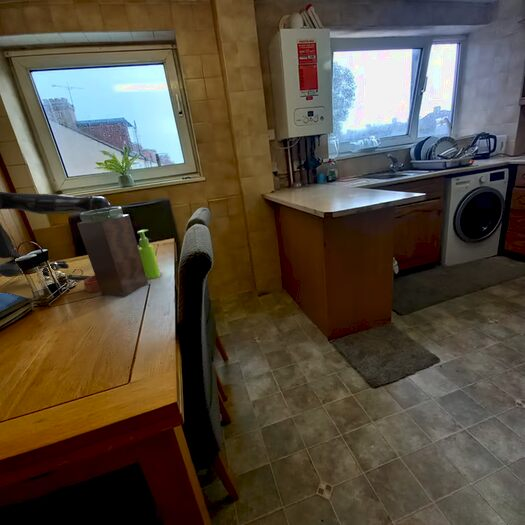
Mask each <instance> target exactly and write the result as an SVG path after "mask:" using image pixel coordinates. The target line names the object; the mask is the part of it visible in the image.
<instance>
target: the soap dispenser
mask: <svg viewBox="0 0 525 525" xmlns="http://www.w3.org/2000/svg"><path fill="white" fill-rule="evenodd" d="M147 231H148V232H149V229H147V228H146V229H140V230H138V231H137V234H138V235H139V236H140V238H139V239H138V242H139V243H140V245H141V247H140V245H139V246H138V249H139V252H140V256H141V260H142V263H143V267H144V270H145V274H146V278H147V280H151V279H156V278H158V277H160V276H161V272H160V267H159V263H158V260H157V256H156V252H155V247H154V245H152V244H150V242H149V241H150V240H148V239H149V238H148V237H146V235H145V232H147Z"/></svg>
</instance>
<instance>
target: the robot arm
mask: <svg viewBox="0 0 525 525" xmlns="http://www.w3.org/2000/svg"><path fill="white" fill-rule="evenodd" d="M110 207H112V206H111V203H110V201H109V200H108V199H107V198H106V197H104V196H99V195H97V196H72V195H71V196H70V195H64V194H63V195H62V194H54V193H53V194H52V193H31V192H30V193H28V192H27V193H26V192H23V193H21V192H18V193H17V192H5V191H0V210H20V211H25V212H28V213H32V214H36V215H37V214H38V215H64V214H74V213H83V212H87V211H91V210H95V211H96V209H103V208H110ZM110 210H111V209H110ZM148 241H153V239H151V238H148ZM138 246H139V247H141V245H140V242H139V243H138ZM19 257H22V256H21V255H20V254H19V253H18V251H17V250H16V247H15V245H14V242H13V240H12V238H11V236H10V235H9V233H8V232H7V231H6V230H5V228H4V227H3V225H2V223H1V222H0V259H9V258H10V259H9V260H6V261H4V262H1V263H0V275H1V276H3V277H5V278H14V277H20V276H24V275H23V273H22V271H21V270H20V268H19V267H18V266H17V265H16V263H15V259H16V258H19ZM49 263H50V262H49ZM50 266H51V268H52V269H53V270H54V271H53V272H56V271H59V270H61V269H63V270H66V269H67V270H68V269H69V268H70V266H69V264H68V263H67V262H66V261H65V260H55V261H54V262H51V263H50ZM42 272H43V275H44V276H43V277H50V272H49V271H48V269H47V268H46V267H45V268H44V269H43V271H42Z"/></svg>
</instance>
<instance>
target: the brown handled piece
mask: <svg viewBox="0 0 525 525" xmlns="http://www.w3.org/2000/svg"><path fill="white" fill-rule="evenodd" d="M66 279H67V280H71V281H82V282H83V284H84V287H85V291H86V292H87V293H88V292H90V293H95V292H99V291H100V288H99V285H98V282H97V280H96V277H95V274H93V275H80V274H68V275H66ZM100 292H101V291H100Z"/></svg>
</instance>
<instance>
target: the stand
mask: <svg viewBox="0 0 525 525" xmlns="http://www.w3.org/2000/svg"><path fill="white" fill-rule="evenodd" d="M110 209H111V210H110ZM79 218H80V221H79V222H77V223H76V224H77V227H78V231H79V233H80V236H81V239H82V243H83V245H84V247H85V250H86V254H87V256H88V259H89V262H90V265H91V267H92V271H93V273H94V274H93V275H95V277H96V280H97V282H98V285H99V288H100V293H101V294H100V295H101V296H109V297H110V296H111V297H122V298H126V297H127V296H129V295H131V294H132V293H134V292H136V291H138V290H139V289H141V288H143V287H144V286H146V285H148V284H149V281H148V279H147V278H146V274H145V270H144V267H143V263H142V260H141V256H140V252H139V249H138V248H139V244H138V242H137V238H136V235H135V231H134V227H133V224H132V220H131V216H130V214H124V213H123V209H122V206H111V207H110V208H103V209H96V211H95V210H91V211H87V212H80V213H79Z"/></svg>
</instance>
